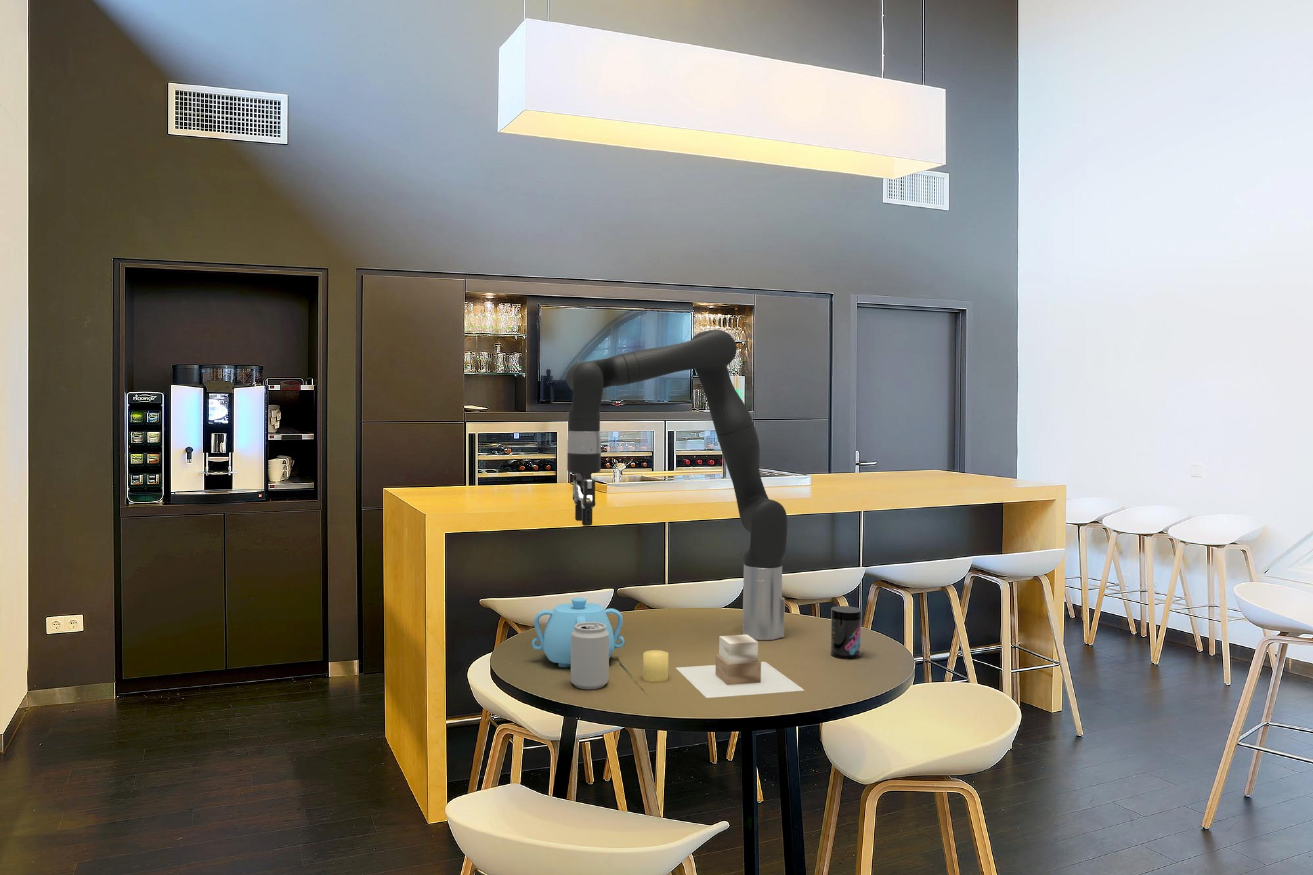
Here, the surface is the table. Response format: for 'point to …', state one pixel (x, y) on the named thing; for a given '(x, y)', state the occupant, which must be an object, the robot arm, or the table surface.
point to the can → (589, 655)
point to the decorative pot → (572, 628)
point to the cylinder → (655, 666)
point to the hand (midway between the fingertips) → (583, 523)
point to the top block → (738, 649)
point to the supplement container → (846, 632)
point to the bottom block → (738, 672)
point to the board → (716, 687)
